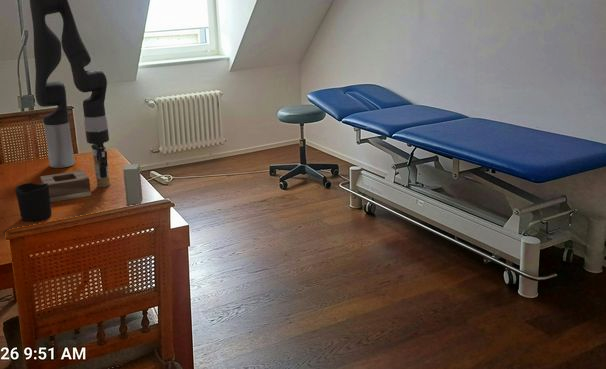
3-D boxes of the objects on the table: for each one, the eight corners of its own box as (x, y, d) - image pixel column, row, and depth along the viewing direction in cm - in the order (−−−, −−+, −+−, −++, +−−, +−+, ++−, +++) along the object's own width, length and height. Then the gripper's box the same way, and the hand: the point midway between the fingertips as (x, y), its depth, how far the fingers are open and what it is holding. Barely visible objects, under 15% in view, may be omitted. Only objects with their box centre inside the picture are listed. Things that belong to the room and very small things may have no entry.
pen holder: (46, 210, 202) (41, 180, 199) (57, 217, 195) (53, 186, 192) (16, 217, 196) (10, 186, 193) (26, 225, 189) (21, 193, 186)
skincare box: (129, 199, 211) (126, 163, 207) (143, 198, 211) (139, 163, 207) (126, 205, 205) (122, 169, 201) (140, 204, 205) (136, 168, 201)
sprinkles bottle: (111, 186, 225) (107, 149, 221) (98, 188, 223) (94, 151, 219) (107, 183, 229) (103, 146, 225) (95, 185, 226) (90, 148, 222)
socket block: (42, 193, 219) (40, 176, 217) (84, 186, 225) (82, 170, 224) (47, 202, 209) (45, 185, 207) (91, 195, 215) (89, 178, 214)
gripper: (81, 126, 224) (87, 172, 229) (89, 133, 212) (95, 182, 217) (103, 123, 227) (108, 169, 232) (112, 130, 215) (117, 179, 220)
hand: (102, 175), depth 224 cm, fingers closed on sprinkles bottle, 4 cm apart
